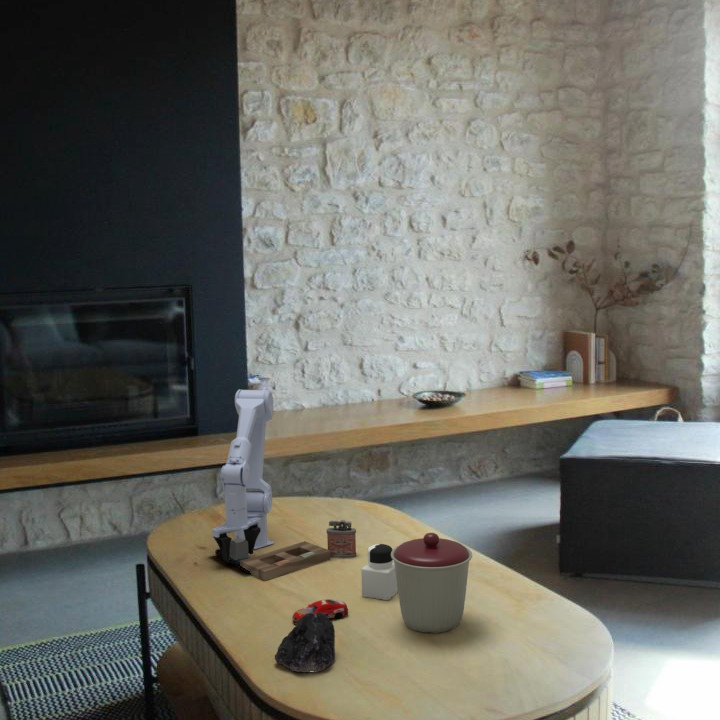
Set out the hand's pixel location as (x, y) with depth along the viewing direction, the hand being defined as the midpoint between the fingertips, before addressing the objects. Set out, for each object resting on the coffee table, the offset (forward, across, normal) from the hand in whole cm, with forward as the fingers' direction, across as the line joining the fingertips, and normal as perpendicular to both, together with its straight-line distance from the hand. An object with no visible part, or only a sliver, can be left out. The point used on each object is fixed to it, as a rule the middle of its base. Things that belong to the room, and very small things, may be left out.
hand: (238, 556), depth 255 cm
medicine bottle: (+2, +12, -43) cm, 45 cm away
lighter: (+2, +23, -16) cm, 28 cm away
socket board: (+2, +8, -10) cm, 13 cm away
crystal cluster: (+2, -23, -58) cm, 63 cm away
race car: (+2, -8, -44) cm, 45 cm away
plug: (+2, 0, 0) cm, 2 cm away
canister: (+2, +8, -64) cm, 65 cm away
